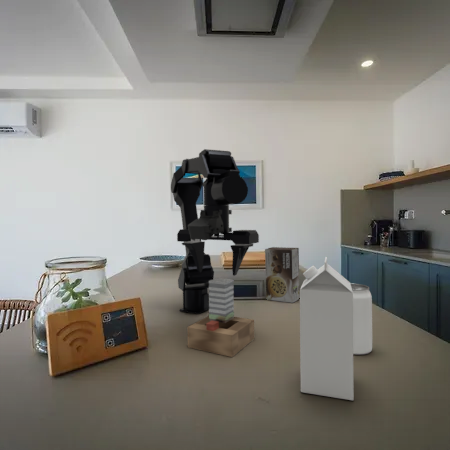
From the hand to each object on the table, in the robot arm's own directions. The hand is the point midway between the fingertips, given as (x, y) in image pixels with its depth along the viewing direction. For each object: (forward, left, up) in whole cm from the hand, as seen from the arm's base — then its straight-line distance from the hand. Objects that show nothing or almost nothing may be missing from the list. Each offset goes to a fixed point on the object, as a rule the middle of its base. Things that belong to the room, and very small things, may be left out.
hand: (216, 273), depth 72 cm
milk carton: (+27, -14, -13) cm, 33 cm away
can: (+29, +2, -13) cm, 32 cm away
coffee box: (+5, +32, -13) cm, 35 cm away
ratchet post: (+5, -7, -8) cm, 12 cm away
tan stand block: (+5, -7, -13) cm, 15 cm away
